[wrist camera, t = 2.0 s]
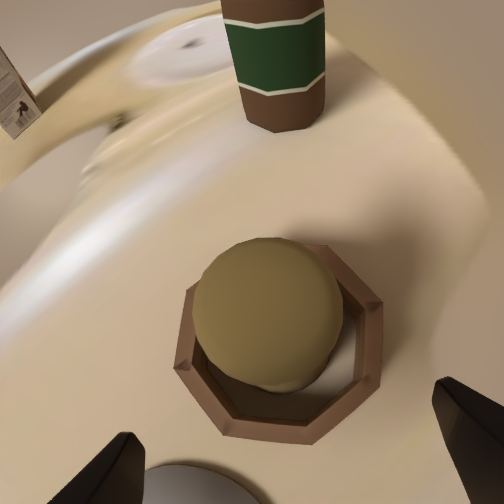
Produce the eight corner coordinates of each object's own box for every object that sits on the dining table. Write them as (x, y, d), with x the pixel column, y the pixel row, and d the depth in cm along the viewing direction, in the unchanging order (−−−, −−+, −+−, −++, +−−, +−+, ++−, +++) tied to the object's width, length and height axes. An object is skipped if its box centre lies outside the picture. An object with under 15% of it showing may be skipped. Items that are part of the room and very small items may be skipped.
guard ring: (405, 351, 18) (421, 343, 15) (267, 468, 16) (261, 480, 14) (291, 232, 23) (290, 209, 20) (163, 332, 21) (144, 323, 18)
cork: (264, 284, 21) (231, 185, 11) (346, 326, 19) (393, 256, 9) (216, 363, 20) (132, 331, 10) (300, 411, 18) (301, 437, 8)
